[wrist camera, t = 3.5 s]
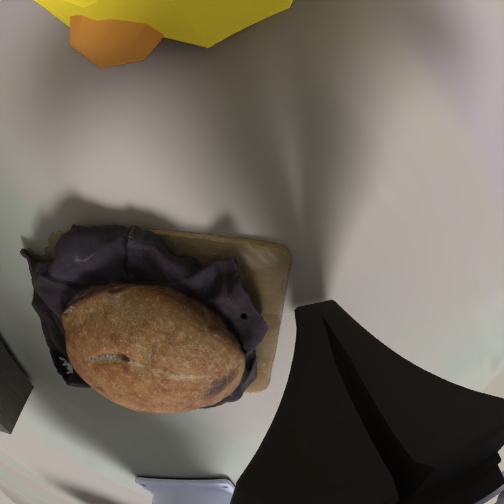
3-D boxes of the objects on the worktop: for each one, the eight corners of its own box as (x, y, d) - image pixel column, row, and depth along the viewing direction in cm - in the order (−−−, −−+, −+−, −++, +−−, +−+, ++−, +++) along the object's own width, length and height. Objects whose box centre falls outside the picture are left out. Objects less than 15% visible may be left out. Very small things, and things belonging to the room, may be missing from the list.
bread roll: (295, 225, 10) (324, 281, 7) (264, 389, 14) (272, 452, 10) (22, 211, 9) (-36, 250, 6) (63, 365, 13) (38, 417, 9)
